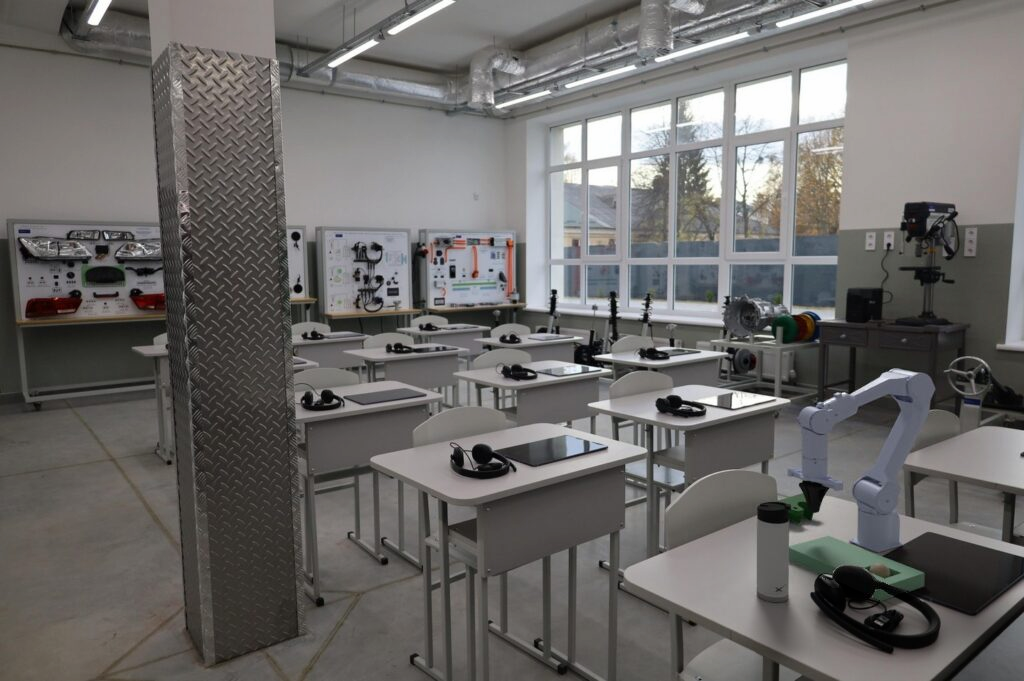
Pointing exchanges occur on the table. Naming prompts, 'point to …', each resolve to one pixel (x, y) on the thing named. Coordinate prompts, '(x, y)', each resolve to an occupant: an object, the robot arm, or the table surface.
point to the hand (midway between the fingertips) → (813, 511)
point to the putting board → (853, 562)
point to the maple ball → (880, 570)
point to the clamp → (797, 508)
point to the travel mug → (773, 551)
